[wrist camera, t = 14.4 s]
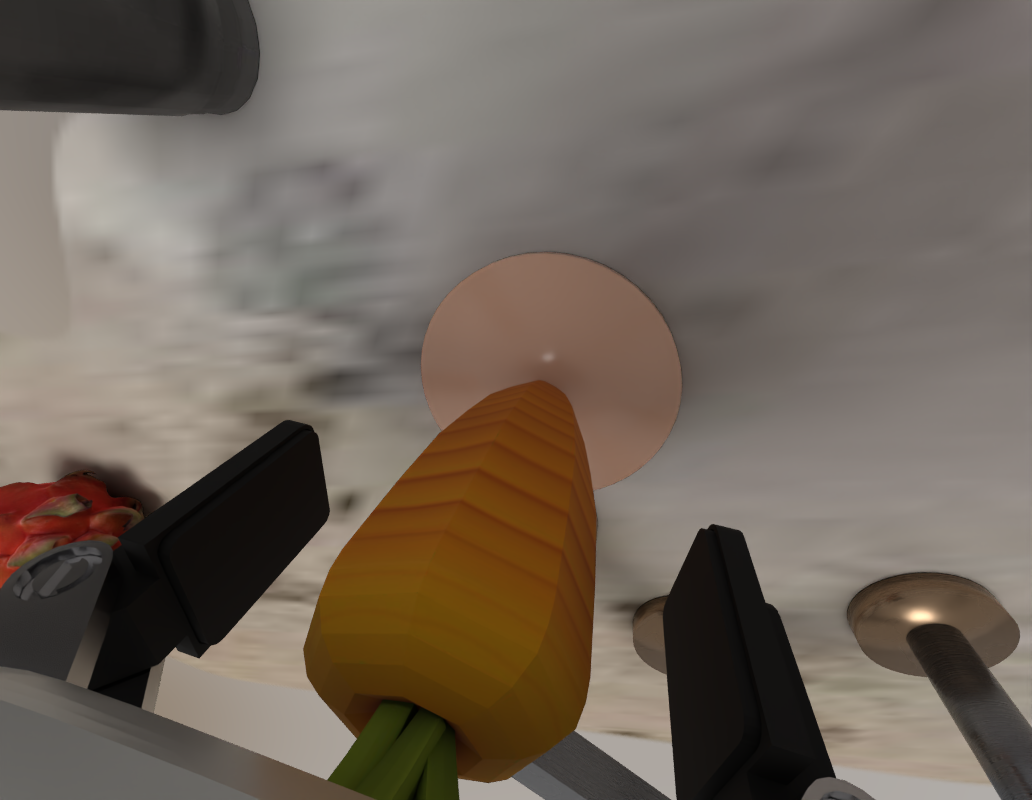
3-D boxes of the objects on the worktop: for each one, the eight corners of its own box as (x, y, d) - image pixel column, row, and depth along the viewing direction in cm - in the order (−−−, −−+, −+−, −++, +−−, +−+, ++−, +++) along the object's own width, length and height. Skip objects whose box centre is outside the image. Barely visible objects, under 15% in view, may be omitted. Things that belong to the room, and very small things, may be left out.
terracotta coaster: (721, 277, 13) (725, 281, 13) (640, 508, 18) (640, 518, 17) (427, 231, 15) (420, 233, 14) (426, 456, 20) (421, 463, 19)
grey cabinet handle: (1032, 594, 16) (1448, 1022, 8) (885, 720, 20) (1046, 1060, 13) (498, 465, 19) (404, 672, 11) (483, 601, 24) (410, 811, 16)
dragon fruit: (213, 496, 28) (125, 484, 33) (48, 455, 21) (-29, 448, 26) (146, 637, 25) (60, 600, 30) (-76, 643, 18) (-137, 593, 23)
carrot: (622, 335, 14) (549, 2020, 1) (602, 453, 16) (509, 1435, 4) (483, 320, 15) (-383, 1176, 2) (484, 433, 17) (76, 1156, 5)
